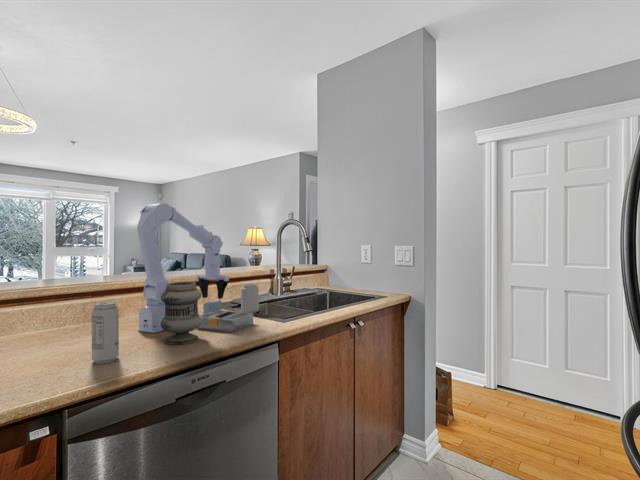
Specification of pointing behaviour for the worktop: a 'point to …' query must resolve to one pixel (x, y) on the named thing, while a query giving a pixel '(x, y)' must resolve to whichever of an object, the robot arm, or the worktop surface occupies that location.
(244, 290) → the can
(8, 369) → the worktop surface
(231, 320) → the rack
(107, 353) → the energy drink can
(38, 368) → the worktop surface
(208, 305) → the block
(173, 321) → the apothecary jar
